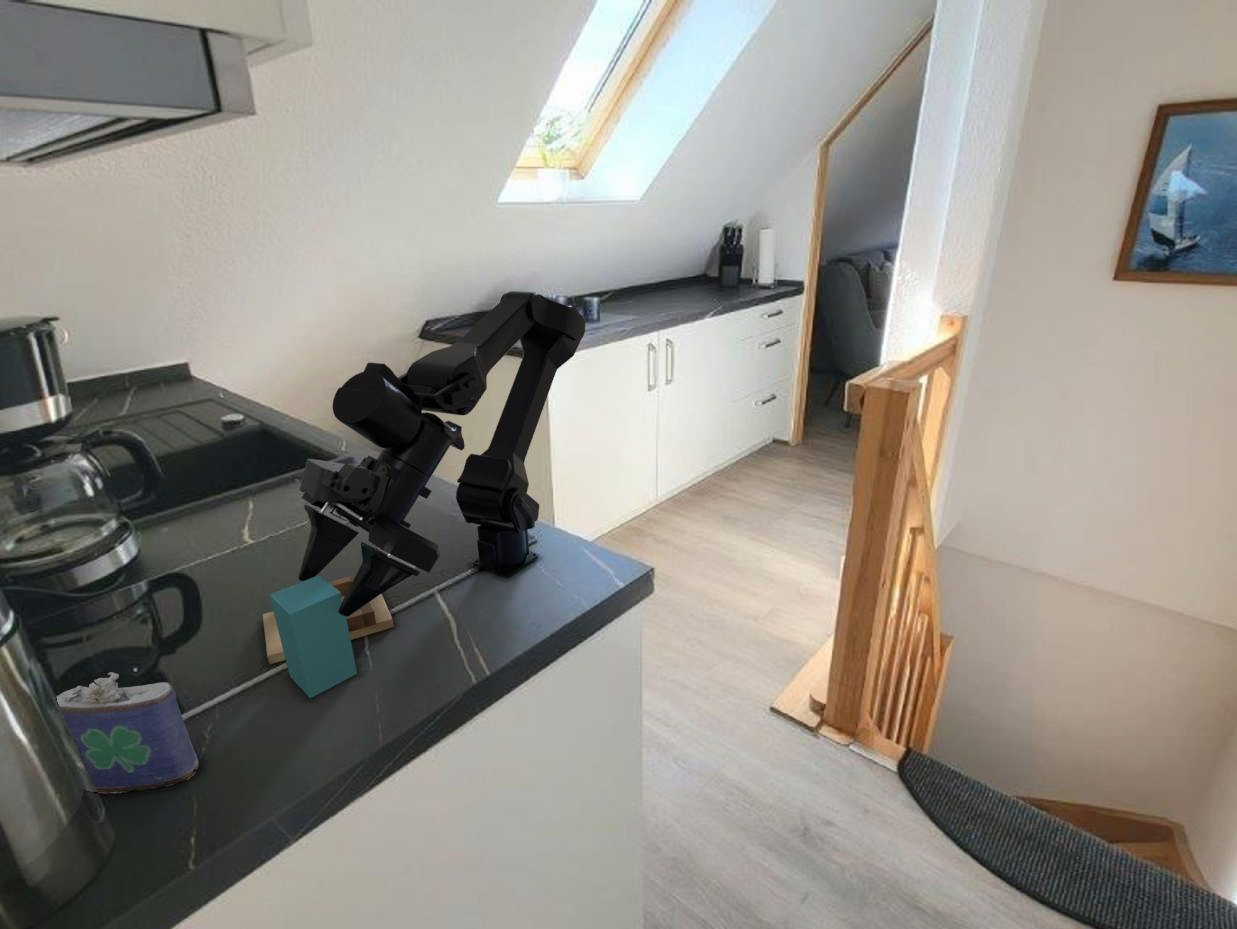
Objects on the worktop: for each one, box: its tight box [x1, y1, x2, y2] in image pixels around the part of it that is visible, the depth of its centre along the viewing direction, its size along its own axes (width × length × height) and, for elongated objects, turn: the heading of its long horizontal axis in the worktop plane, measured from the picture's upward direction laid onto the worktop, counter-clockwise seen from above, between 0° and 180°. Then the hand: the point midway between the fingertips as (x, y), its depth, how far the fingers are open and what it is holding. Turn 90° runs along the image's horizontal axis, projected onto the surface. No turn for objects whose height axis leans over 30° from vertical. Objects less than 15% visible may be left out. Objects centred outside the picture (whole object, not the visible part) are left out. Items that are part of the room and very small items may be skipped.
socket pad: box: [262, 574, 395, 665], centre depth 76 cm, size 13×9×3 cm
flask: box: [55, 671, 200, 794], centre depth 54 cm, size 9×3×11 cm, turn 95°
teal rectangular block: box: [269, 574, 358, 699], centre depth 66 cm, size 5×5×10 cm
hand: (321, 597), depth 66 cm, fingers open, 9 cm apart
